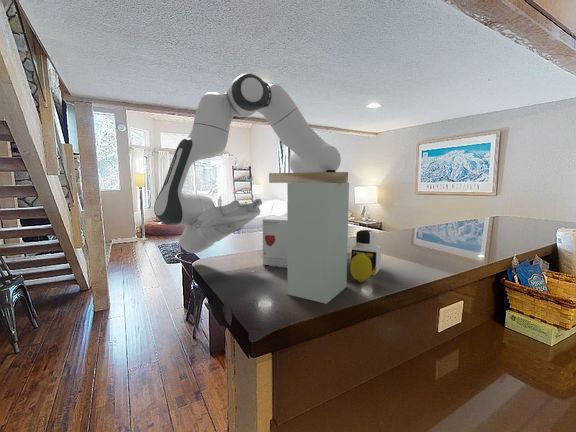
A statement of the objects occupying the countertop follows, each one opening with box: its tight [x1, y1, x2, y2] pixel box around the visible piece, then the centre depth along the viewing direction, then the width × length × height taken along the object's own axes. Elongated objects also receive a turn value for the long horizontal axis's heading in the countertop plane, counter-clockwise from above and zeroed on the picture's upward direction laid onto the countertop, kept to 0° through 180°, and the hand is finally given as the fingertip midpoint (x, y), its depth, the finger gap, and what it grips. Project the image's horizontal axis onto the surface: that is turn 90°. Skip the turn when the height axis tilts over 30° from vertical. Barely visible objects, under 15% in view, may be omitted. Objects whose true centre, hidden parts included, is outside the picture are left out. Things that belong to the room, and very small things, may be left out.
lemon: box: [349, 253, 372, 283], centre depth 76 cm, size 6×6×8 cm
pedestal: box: [286, 182, 350, 305], centre depth 69 cm, size 12×10×26 cm
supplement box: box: [262, 215, 287, 269], centre depth 94 cm, size 9×9×15 cm
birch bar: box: [268, 171, 349, 184], centre depth 69 cm, size 2×20×2 cm, turn 58°
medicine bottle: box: [351, 229, 382, 276], centre depth 86 cm, size 7×7×12 cm
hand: (249, 201), depth 80 cm, fingers open, 8 cm apart
